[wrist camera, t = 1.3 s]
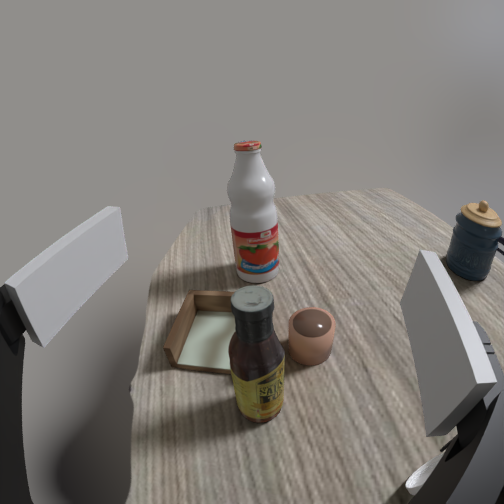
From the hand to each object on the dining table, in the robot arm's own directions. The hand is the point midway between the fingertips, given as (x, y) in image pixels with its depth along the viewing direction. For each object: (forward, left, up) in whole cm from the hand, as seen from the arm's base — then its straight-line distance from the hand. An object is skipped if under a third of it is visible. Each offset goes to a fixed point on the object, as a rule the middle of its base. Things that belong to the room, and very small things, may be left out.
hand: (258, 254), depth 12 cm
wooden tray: (+2, -24, -31) cm, 40 cm away
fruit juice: (-8, -42, -31) cm, 53 cm away
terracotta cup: (-11, -18, -31) cm, 38 cm away
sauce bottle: (-1, -10, -31) cm, 33 cm away
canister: (-58, -26, -31) cm, 71 cm away
